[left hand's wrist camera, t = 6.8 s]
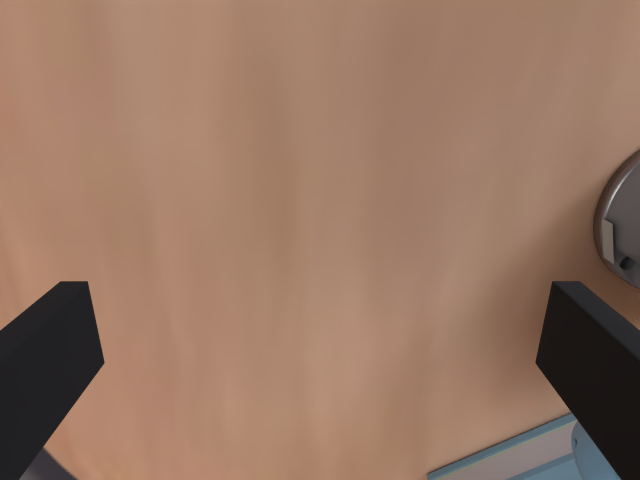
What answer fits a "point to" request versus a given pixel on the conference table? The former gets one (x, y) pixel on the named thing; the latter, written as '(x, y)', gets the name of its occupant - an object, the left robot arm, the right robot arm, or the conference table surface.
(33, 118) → the conference table surface
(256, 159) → the conference table surface
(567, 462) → the book
